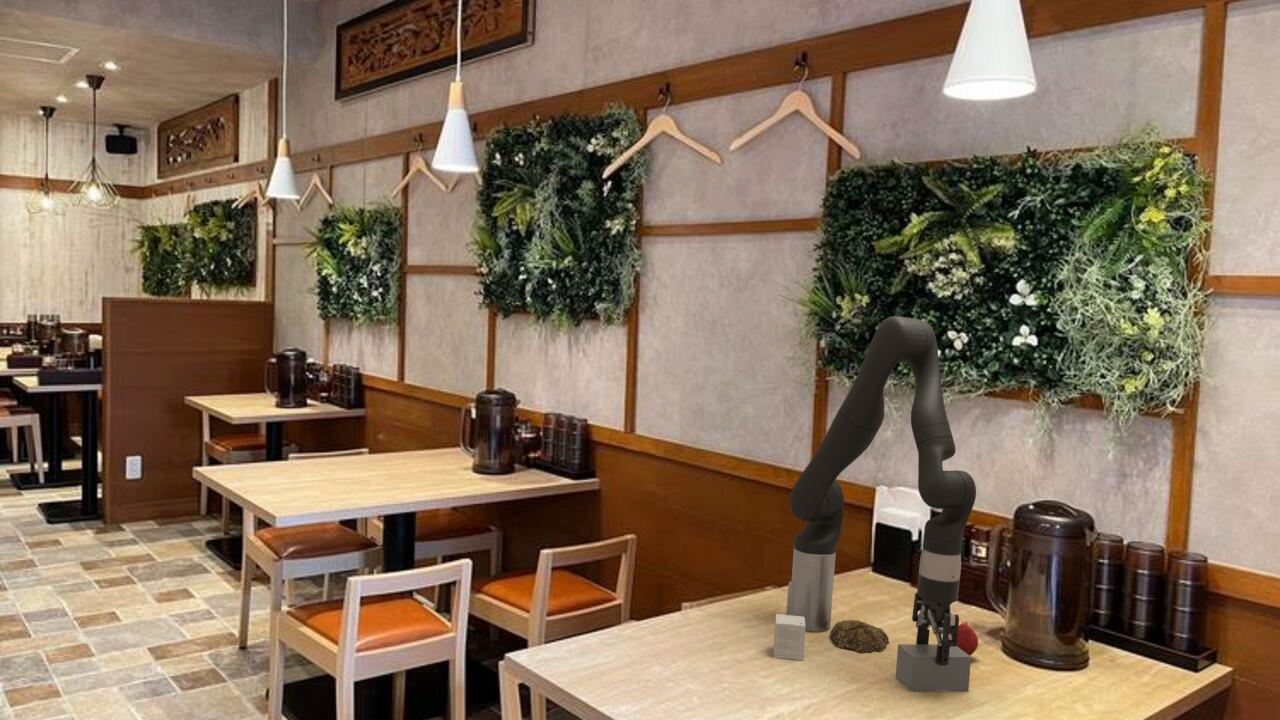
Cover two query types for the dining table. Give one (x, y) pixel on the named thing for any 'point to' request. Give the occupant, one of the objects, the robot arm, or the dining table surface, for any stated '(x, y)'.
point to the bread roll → (859, 636)
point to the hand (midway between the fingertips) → (931, 655)
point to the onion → (967, 638)
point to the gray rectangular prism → (932, 668)
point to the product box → (789, 637)
